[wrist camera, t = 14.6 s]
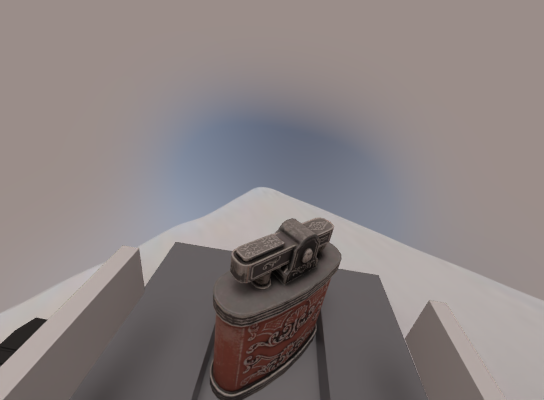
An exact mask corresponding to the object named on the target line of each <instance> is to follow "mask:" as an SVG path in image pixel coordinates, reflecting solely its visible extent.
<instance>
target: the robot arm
mask: <svg viewBox="0 0 544 400" xmlns="http://www.w3.org/2000/svg"><path fill="white" fill-rule="evenodd" d="M144 292H145V288H144V281H143V274H142V266H141V259H140V252H139V248H133V247H128V246H122V247H121V248H120V249H119V250H118V251H117V252H116V253H115V254H114V255H113V256H112V257H111V258H110V259H109V260H108V261H107V262H106V263H105V264H104V265H102V266H101V267H100V268H99V269H98V270H97V271H96V272H95V273H94V274H93V275H92V276H91V277H90V278H89V279H88V280H87V281H86V282H85V283H84V284H83V285H82V286H81V287H80V288H79V289H78V290H77V291H76V292H75V293H74V294H73V295H72V296H71V297H70V298H69V299H68V300H67V301H66V302H65V303H64V304H63V305H62V306H61V307H60V308H59V309H58V310H57V311H56V312H55V313H54V314H53V315H52V316H51V317H50V318H49V319H48V320H46V319H40V318H35V319H33V320H31V321H30V322H28V323H27V324H25V325H23V326H22V327H20V328H18V329H17V330H15V331H14V332H13V333H12V334H11V335H10V336H9V337H8V338H7V339H5V340H4V341H3V342H2V343H1V344H0V400H69V399H70V398H71V396H72V395H73V393H74V392H75V391H76V389H77V388H78V386H79V385H80V383H81V382H82V381H83V379H84V378H85V376H86V375H87V373H88V372H89V371H90V369H91V368H92V366H93V365H94V363H95V362H96V361H97V359H98V358H99V356H100V355H101V353H102V352H103V351H104V349H105V348H106V346H107V345H108V343H109V342H110V341H111V339H112V338H113V336H114V335H115V333H116V332H117V331H118V329H119V328H120V326H121V325H122V323H123V322H124V321H125V319H126V318H127V316H128V315H129V313H130V312H131V311H132V309H133V308H134V306H135V305H136V303H137V302H138V301H139V299H140V298H141V296H142V295H143V293H144ZM405 340H406V343H407V345H408V348H409V350H410V353H411V355H412V358H413V361H414V363H415V366H416V368H417V371H418V374H419V376H420V379H421V381H422V384H423V387H424V389H425V392H426V394H427V397H428V399H429V400H506V398H505V396H504V395H503V393H502V392H501V390H500V388H499V387H498V385H497V384H496V382H495V380H494V379H493V377H492V376H491V374H490V372H489V371H488V369H487V368H486V366H485V364H484V363H483V361H482V359H481V358H480V356H479V355H478V353H477V351H476V350H475V348H474V347H473V345H472V343H471V342H470V340H469V339H468V337H467V335H466V334H465V332H464V331H463V329H462V327H461V326H460V324H459V322H458V321H457V319H456V318H455V316H454V314H453V313H452V311H451V310H450V308H449V306H448V305H447V303H442V302H436V301H431V300H429V301H428V303H427V304H426V306H425V308H424V309H423V311H422V312H421V314H420V316H419V317H418V319H417V320H416V322H415V324H414V325H413V327H412V328H411V330H410V332H409V333H408V335H407V336H406V338H405Z"/></svg>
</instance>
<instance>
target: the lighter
mask: <svg viewBox="0 0 544 400" xmlns="http://www.w3.org/2000/svg"><path fill="white" fill-rule="evenodd" d="M333 228H334V225H333V224H332V223H331V222H329V221H328V220H326V219H324V218H315V219H312V220H309V221H307V222H304V223H300V222H298V221H297V220H296V219H293V218H292V219H289V220H286V221H285V222H284V223H282V225H281V226H280V228H279V229H278V230H277V231H276V233H275V234H271V235H268V236H265V237H263V238H260V239H257V240H255V241H252V242H249V243H247V244H244V245H242V246H239V247H237V248H236V249H234V250H233V251H232V254H231V266H230V270H229V271H228V272H226V273H225V274H223V275H222V276H220V277H219V278H218V279H217V280H216V282H215V284H214V287H213V307H214V310H215V312H216V322H215V342H214V359H213V360H212V363H211V366H210V386H211V389H212V392H213V393H214V395H215V396H216V397H217V399H219V400H244V399H245V398H247V397H249V396H251V395H253V394H255V393H257V392H258V391H260V390H262V389H264V388H265V387H266V386H268V385H269V384H271V383H272V382H273V381H275V380H276V379H278V378H279V377H280V376H282V375H283V374H284V373H285V372H286V371H287V370H288V369H289V368H290V367H291V366H292V365H293V364H294V363H295V362H296V361H297V360H298V359H299V358H300V357H301V356H302V355H303V353H304V352H305V351H306V349H307V348H308V347H309V345H310V344H311V342H312V341H313V338H314V336H315V333H316V330H317V326H316V321H317V318H318V315H319V312H320V309H321V306H322V303H323V300H324V298H325V295H326V292H327V289H328V286H329V283H330V280H331V277H332V276H333V275H334V274H335V273H336V272H337V270H338V267H339V264H340V261H341V253H340V252H339V250H338V249H337V248H336V247H335V246H334V245H332V244H331V243H329V241H330V238H331V235H332V232H333Z"/></svg>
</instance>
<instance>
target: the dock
mask: <svg viewBox="0 0 544 400" xmlns="http://www.w3.org/2000/svg"><path fill="white" fill-rule="evenodd" d="M231 254H232V251H227V250H221V249H215V248H209V247H203V246H197V245H191V244H185V243H179V242H175V244H174V245H173V247H172V248H171V250H170V251H169V253H168V254H167V256H166V257H165V258H164V260H163V261H162V263H161V264H160V266H159V267H158V269H157V270H156V272H155V273H154V274H153V276H152V277H151V279H150V280H149V282H148V283H147V285H146V286H145V292H144V293H143V295H142V296H141V298H140V299H139V301H138V302H137V303H136V305H135V306H134V308H133V309H132V311H131V312H130V313H129V315H128V316H127V318H126V319H125V321H124V322H123V323H122V325H121V326H120V328H119V329H118V331H117V332H116V333H115V335H114V336H113V338H112V339H111V341H110V342H109V343H108V345H107V346H106V348H105V349H104V351H103V352H102V353H101V355H100V356H99V358H98V359H97V361H96V362H95V363H94V365H93V366H92V368H91V369H90V371H89V372H88V373H87V375H86V376H85V378H84V379H83V381H82V382H81V383H80V385H79V386H78V388H77V389H76V391H75V392H74V393H73V395H72V396H71V398H70V399H69V400H219V399H217V397H216V396H215V395H214V393H213V392H212V389H211V386H210V366H211V363H212V360H213V359H214V342H215V322H216V312H215V310H214V307H213V287H214V284H215V282H216V280H217V279H218V278H219V277H220V276H222V275H223V274H225V273H226V272H228V271H229V270H230V266H231ZM316 326H317V330H316V333H315V336H314V338H313V341H312V342H311V344H310V345H309V347H308V348H307V349H306V351H305V352H304V353H303V355H302V356H301V357H300V358H299V359H298V360H297V361H296V362H295V363H294V364H293V365H292V366H291V367H290V368H289V369H288V370H287V371H286V372H285V373H284V374H283V375H282V376H280V377H279V378H278V379H276V380H275V381H273V382H272V383H271V384H269V385H268V386H266V387H265V388H264V389H262V390H260V391H258V392H257V393H255V394H253V395H251V396H249V397H247V398H245V399H244V400H428V397H427V395H426V392H425V390H424V387H423V385H422V382H421V380H420V377H419V375H418V372H417V370H416V367H415V365H414V363H413V360H412V358H411V355H410V353H409V350H408V348H407V345H406V343H405V340H404V338H403V335H402V333H401V330H400V328H399V325H398V323H397V320H396V318H395V315H394V313H393V310H392V308H391V305H390V303H389V300H388V298H387V295H386V293H385V290H384V288H383V285H382V283H381V280H380V278H379V275H374V274H367V273H361V272H355V271H349V270H343V269H338V270H337V272H336V273H335V274H334V275H333V276H332V277H331V280H330V283H329V286H328V289H327V292H326V295H325V298H324V300H323V303H322V306H321V309H320V312H319V315H318V318H317V321H316Z"/></svg>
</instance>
